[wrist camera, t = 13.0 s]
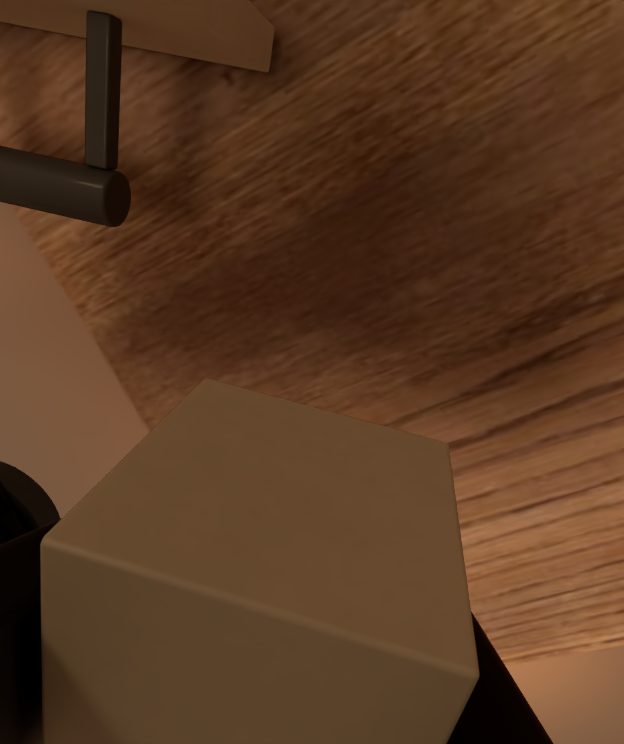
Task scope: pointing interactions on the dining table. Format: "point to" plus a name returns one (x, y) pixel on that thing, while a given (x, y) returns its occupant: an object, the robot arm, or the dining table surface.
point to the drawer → (103, 74)
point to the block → (259, 585)
